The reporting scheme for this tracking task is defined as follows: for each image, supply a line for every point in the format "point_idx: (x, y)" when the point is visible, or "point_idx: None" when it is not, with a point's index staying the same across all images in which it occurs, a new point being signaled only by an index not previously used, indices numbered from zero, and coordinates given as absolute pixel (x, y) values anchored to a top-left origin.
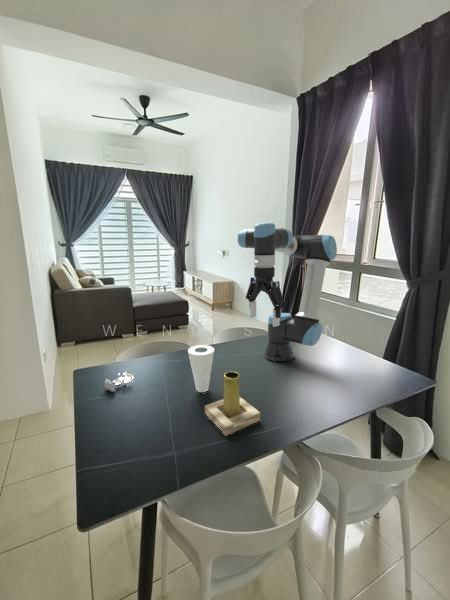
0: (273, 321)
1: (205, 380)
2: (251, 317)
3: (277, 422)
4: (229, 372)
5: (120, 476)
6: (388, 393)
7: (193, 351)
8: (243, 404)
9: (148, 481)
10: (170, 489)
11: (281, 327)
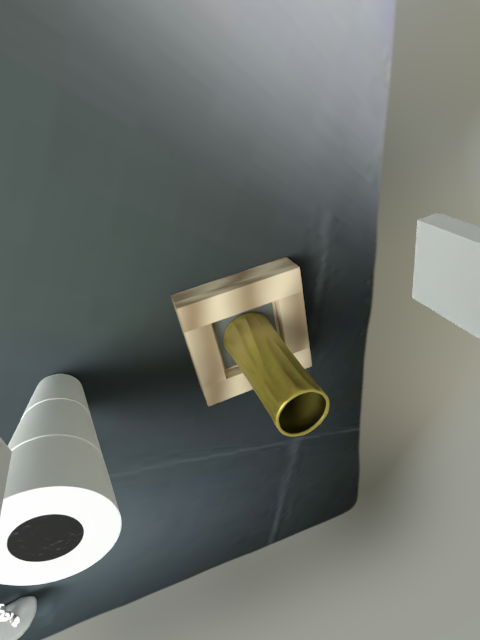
0: (469, 321)
1: (90, 417)
2: (8, 451)
3: (310, 208)
4: (277, 417)
5: (306, 498)
6: None
7: (62, 562)
8: (243, 303)
9: (332, 464)
10: (359, 437)
11: None
